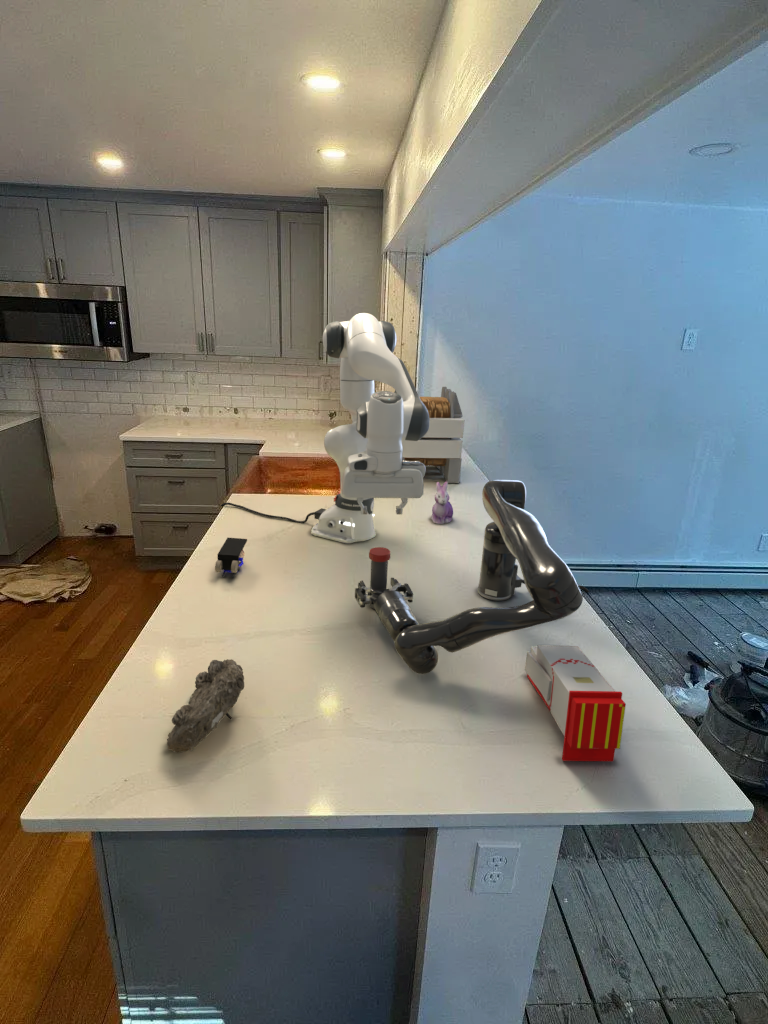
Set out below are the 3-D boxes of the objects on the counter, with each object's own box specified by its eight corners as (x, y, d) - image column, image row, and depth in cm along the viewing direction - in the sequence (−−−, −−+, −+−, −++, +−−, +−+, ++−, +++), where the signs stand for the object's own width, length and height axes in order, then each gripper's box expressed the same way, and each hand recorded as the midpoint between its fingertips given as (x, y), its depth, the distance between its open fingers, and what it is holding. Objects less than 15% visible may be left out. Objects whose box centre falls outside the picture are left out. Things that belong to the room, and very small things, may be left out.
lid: (377, 564, 143) (377, 557, 142) (364, 556, 147) (364, 549, 146) (394, 559, 146) (394, 552, 145) (381, 551, 150) (382, 545, 150)
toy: (573, 628, 126) (635, 699, 97) (567, 683, 129) (626, 769, 99) (519, 627, 125) (565, 698, 96) (514, 682, 128) (557, 768, 99)
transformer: (382, 463, 289) (386, 382, 275) (445, 464, 293) (451, 384, 279) (390, 482, 257) (394, 392, 243) (460, 483, 261) (468, 394, 247)
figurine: (438, 526, 208) (441, 487, 203) (424, 517, 217) (426, 479, 211) (459, 522, 212) (463, 484, 207) (444, 514, 221) (447, 477, 216)
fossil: (192, 660, 117) (244, 628, 112) (224, 691, 120) (276, 661, 115) (142, 746, 98) (202, 712, 93) (182, 779, 101) (242, 748, 96)
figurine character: (238, 584, 162) (249, 557, 175) (236, 562, 158) (247, 536, 172) (215, 584, 161) (227, 556, 175) (212, 561, 158) (225, 535, 171)
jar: (375, 611, 148) (378, 557, 143) (366, 604, 152) (368, 551, 146) (388, 606, 151) (391, 553, 146) (379, 600, 154) (381, 548, 149)
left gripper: (423, 457, 142) (420, 509, 147) (341, 456, 139) (340, 509, 144) (428, 464, 136) (424, 518, 141) (343, 463, 134) (342, 518, 138)
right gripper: (365, 629, 135) (350, 597, 150) (421, 622, 139) (401, 592, 154) (366, 601, 133) (350, 571, 148) (423, 595, 137) (402, 567, 151)
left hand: (381, 513), depth 142 cm, fingers open, 7 cm apart
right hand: (376, 582), depth 151 cm, fingers open, 8 cm apart
